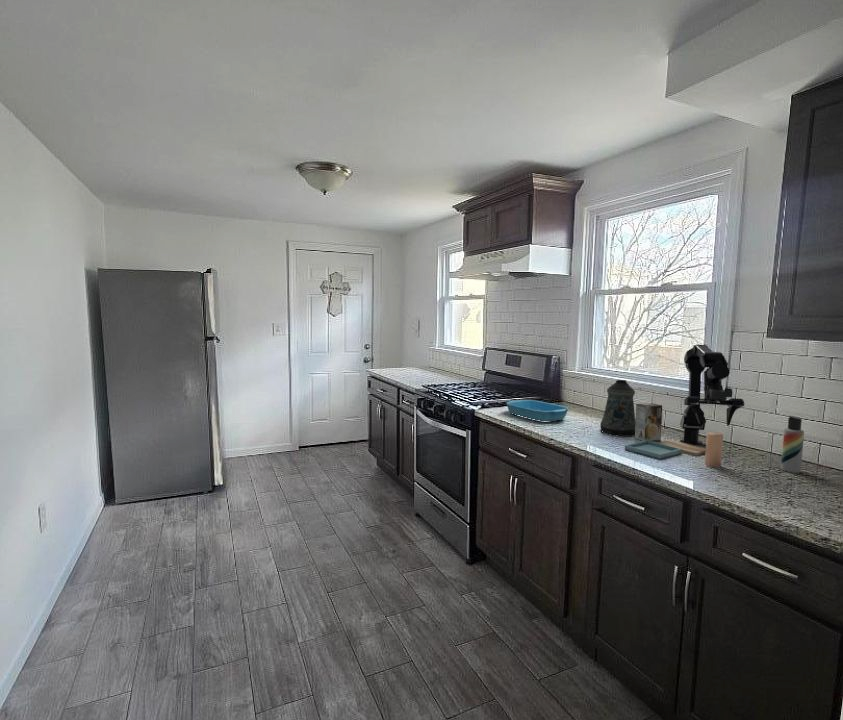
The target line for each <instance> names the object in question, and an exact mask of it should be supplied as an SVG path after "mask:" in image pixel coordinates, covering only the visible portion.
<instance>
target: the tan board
mask: <svg viewBox="0 0 843 720" xmlns="http://www.w3.org/2000/svg"><path fill="white" fill-rule="evenodd" d="M658 443H659V444H663V445H667V446H672V447H676V448H680V449H682V452H681V454H687V455H691V456H694V457H698V456H701V455H705V453H706V447H701V446H698V445H696V444H690V443H686V442H681V441H677V440H672V439H669V440H664V441H660V442H659V441H658Z"/></svg>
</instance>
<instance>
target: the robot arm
mask: <svg viewBox="0 0 843 720" xmlns="http://www.w3.org/2000/svg"><path fill="white" fill-rule="evenodd" d="M683 358H684V359H683V363H684V364H685V365H684V366H685V368H686V370H687V372H688V396H687V397H685V398H684V399H683V400H684V403H683V405H684V406H687V407H686V408H685V409H684V410H683V414H682V416H681V419H680V421H679V424H680V425H679V426H680V428H681V429H682V430H683V439H679V440H680V441H679V442H682V443H686V444H690V445H698V443H699V444H702V443H703V441H701V440H700V437H699V436H700V431H704V430H705V428H706V427H705V426H706V423H707V419H706V417H705V412H704V410H702V408H701V405H714V406H716V405H719V406H727V408H726V426H727V427H729V426H730V424H731V422H732V419H733V416H734V415H735V412H736V411H737V410H739V409H741V408H744V407H745V401H744V399H743V398H737V397H735V398H733V388H730V387H725V388H723V385H722V381H723V380H724V379H726V378H727V377H728V376H729V375H730V369H729V367H728V365H729V362H728V361H727V359H726V358H725V355H724V354H723V352H721V351H720V352H719V351H713V350H712V349H711V348H710V347H708V345H706V344H695V345H694V344H693V345H692V348H690V349H689V350H687V351H686V352H685V354H684V357H683ZM703 371H704V372H703ZM702 373H703V386H704V387H703V391H704V393H703V395H704V396H703V397H704V398H701V388H702V387H701V386H702ZM727 398H729V399H727Z"/></svg>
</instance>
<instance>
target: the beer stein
mask: <svg viewBox="0 0 843 720" xmlns="http://www.w3.org/2000/svg"><path fill="white" fill-rule="evenodd" d="M606 392H607V400H606V403H605V408H604V412H603V417H602V419H601V421H600V424H599V425H600V431H601V432H602V431H603V432H605V433H608V434H607V435H609V434H611V435H610V436H614V435H618V436H617V437H632V435H634V436H635V423H636V411H635V404H634V396H635V393H636V390H635V389H634V388H633V387H632V386H630V384H629V383H628V382H627V380H626V379H617V380H616V381H615V382H614V383H613V384H611V385H610V386H609V387H608V388H607V389H606ZM603 432H602V433H603ZM605 433H604V434H605Z"/></svg>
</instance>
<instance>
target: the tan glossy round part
mask: <svg viewBox="0 0 843 720" xmlns="http://www.w3.org/2000/svg"><path fill="white" fill-rule="evenodd" d="M705 441H706V443H705V448H706V453H705V454H704V455H705V457H704V465H705V466H706V467H709V466H710V467H709V468H716V467H719V468H721V467H722V458H723V444H724V434H723V433H719V432H715V431H714V432H713V431H711V432H710V431H709V432H706V439H705Z"/></svg>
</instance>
